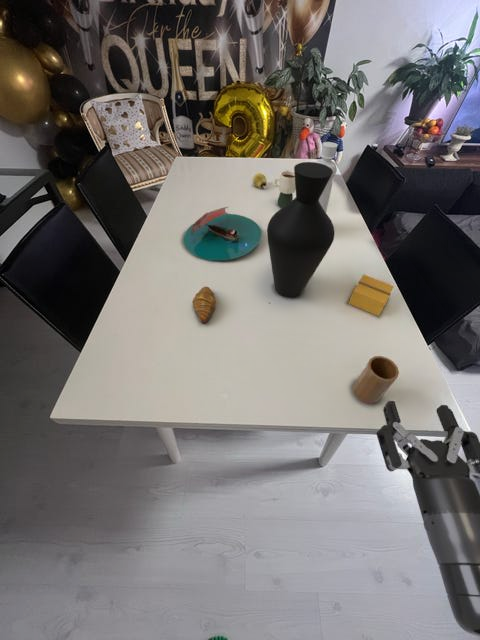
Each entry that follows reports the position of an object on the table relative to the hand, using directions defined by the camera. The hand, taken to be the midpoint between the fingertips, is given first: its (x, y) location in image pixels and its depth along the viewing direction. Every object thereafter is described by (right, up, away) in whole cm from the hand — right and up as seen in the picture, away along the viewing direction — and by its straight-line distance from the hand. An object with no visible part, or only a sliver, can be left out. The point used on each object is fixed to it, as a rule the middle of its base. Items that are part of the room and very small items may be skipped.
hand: (415, 404), depth 49 cm
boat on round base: (-35, +43, +59) cm, 81 cm away
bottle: (-3, +47, +63) cm, 79 cm away
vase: (-14, +24, +42) cm, 50 cm away
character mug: (-10, +62, +76) cm, 99 cm away
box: (+9, +20, +39) cm, 45 cm away
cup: (0, -2, +19) cm, 19 cm away
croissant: (-39, +18, +36) cm, 56 cm away
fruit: (-20, +75, +87) cm, 116 cm away
